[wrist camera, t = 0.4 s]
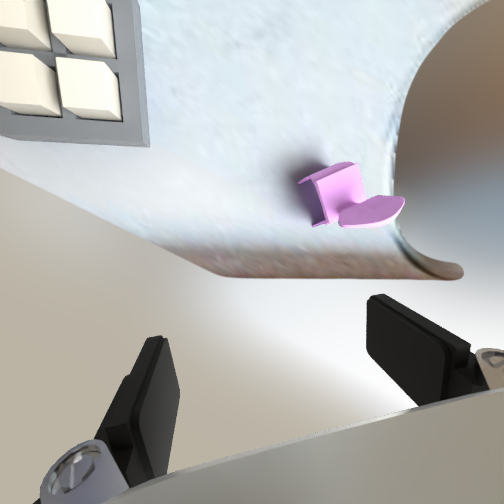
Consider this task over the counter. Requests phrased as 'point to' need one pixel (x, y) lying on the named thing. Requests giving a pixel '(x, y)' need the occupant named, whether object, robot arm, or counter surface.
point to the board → (130, 82)
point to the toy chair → (351, 198)
